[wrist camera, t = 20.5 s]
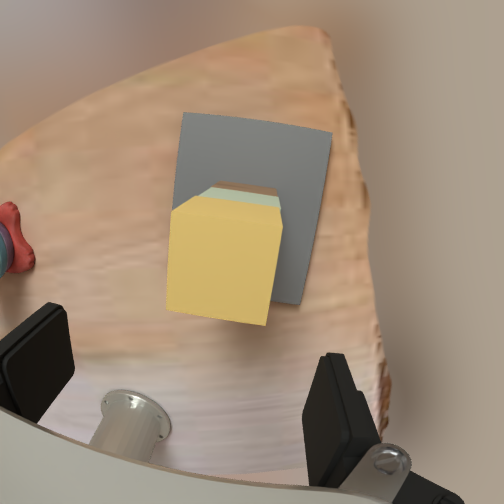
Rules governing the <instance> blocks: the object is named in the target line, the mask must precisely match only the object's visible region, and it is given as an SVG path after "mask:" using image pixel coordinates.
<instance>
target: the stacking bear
mask: <svg viewBox="0 0 504 504" xmlns="http://www.w3.org/2000/svg"><path fill="white" fill-rule="evenodd" d="M34 260H35V256H34V254H33V250H32V248H31V246H30V245H29V244H28V243H27V242H26V241H25V239H24V238H23V235H22V233H21V229H20V214H19V211H18V209H17V206H16V205H15V204H13V203H12V202H6V203H4V204H2V205H1V206H0V278H1V277H2V276H3V275H4V273H5V272H9V273H21V272H24V271H27V270H29V269H30V268H32V267H33V266H34Z"/></svg>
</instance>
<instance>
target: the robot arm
mask: <svg viewBox="0 0 504 504" xmlns="http://www.w3.org/2000/svg"><path fill="white" fill-rule="evenodd" d="M74 371H75V365H74V360H73V354H72V348H71V341H70V334H69V327H68V319H67V313H66V311H65V310H64V308H63V306H61V305H58V304H55V303H51V302H48V303H46V304H45V305H44V306H42V307H41V308H40V309H39V310H37V311H36V312H35V313H34V314H32V315H31V316H30V317H29V318H27V319H26V320H25V321H24V322H22V323H21V324H20V325H19V326H17V327H16V328H15V329H14V330H13V331H11V332H10V333H9V334H8V335H7V336H5V337H4V338H3V339H2V340H1V341H0V504H464V501H463V500H462V499H461V498H460V497H459V496H458V495H456V494H455V493H453V492H451V491H449V490H447V489H445V488H443V487H441V486H439V485H437V484H435V483H433V482H431V481H429V480H427V479H425V478H423V477H421V476H419V475H417V474H416V473H414V472H412V471H410V469H411V466H412V464H411V463H412V462H411V458H410V457H409V454H408V453H407V452H406V451H405V450H404V449H402V448H401V447H399V446H397V445H394V444H390V443H381V441H380V438H379V435H378V432H377V430H376V427H375V424H374V421H373V418H372V415H371V413H370V410H369V407H368V404H367V402H366V399H365V396H364V394H363V392H362V391H357V389H356V386H355V384H354V381H353V378H352V375H351V372H350V370H349V367H348V364H347V361H346V359H345V356H344V354H339V353H327V354H326V356H321V357H320V360H319V363H318V366H317V369H316V373H315V376H314V379H313V382H312V385H311V388H310V391H309V394H308V398H307V401H306V404H305V406H304V409H303V413H302V424H303V433H304V442H305V451H306V460H307V469H308V477H309V486H301V485H286V484H272V483H261V482H251V481H243V480H234V479H227V478H219V477H213V476H207V475H202V474H196V473H191V472H186V471H181V470H176V469H171V468H167V467H163V466H158V465H154V464H150V463H149V460H150V457H151V455H152V452H153V449H154V446H155V443H156V442H160V441H162V440H164V439H165V438H166V437H167V436H168V434H169V431H170V421H169V418H168V416H167V414H166V413H165V412H164V411H163V409H162V408H161V407H160V406H158V405H157V404H156V403H155V402H153V401H152V400H150V399H149V398H147V397H145V396H143V395H141V394H138V393H135V392H132V391H126V390H116V391H112V392H109V393H108V394H106V395H105V397H104V398H103V400H102V402H101V412H102V414H103V416H104V417H103V419H102V421H101V422H100V424H99V426H98V428H97V430H96V432H95V433H94V435H93V437H92V439H91V441H90V443H89V444H85V443H82V442H79V441H77V440H74V439H72V438H69V437H66V436H64V435H61V434H59V433H56V432H54V431H52V430H49V429H47V428H45V427H42V426H40V425H38V424H37V423H38V421H39V420H40V419H41V417H42V416H43V415H44V413H45V412H46V410H47V409H48V408H49V406H50V405H51V404H52V402H53V401H54V400H55V398H56V397H57V396H58V394H59V393H60V392H61V390H62V389H63V388H64V387H65V385H66V384H67V383H68V381H69V380H70V379H71V377H72V376H73V374H74Z"/></svg>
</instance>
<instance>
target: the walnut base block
mask: <svg viewBox="0 0 504 504" xmlns="http://www.w3.org/2000/svg"><path fill="white" fill-rule="evenodd" d="M211 187H214V188H221V189H228V190H236V191H243V192H249V193H256V194H263V195H269V196H276V197H278V195H277V190H276V188H269V187H263V186H256V185H249V184H242V183H235V182H227V181H219V182H217V183H216V184H214V185H212V186H211Z"/></svg>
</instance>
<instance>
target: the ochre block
mask: <svg viewBox="0 0 504 504" xmlns="http://www.w3.org/2000/svg"><path fill="white" fill-rule="evenodd" d="M282 229H283V225H282V219H281V214H280V209H279V207H274V206H267V205H260V204H253V203H246V202H239V201H232V200H225V199H217V198H210V197H202V196H194V197H192V198H191V199H189V200H188V201H186V202H185V203H183V204H182V205H180V206H178V207H177V208H175V209H174V210H172V211H171V223H170V237H169V253H168V272H167V298H166V310H170V311H175V312H181V313H187V314H192V315H198V316H204V317H210V318H216V319H223V320H229V321H236V322H242V323H249V324H256V325H263V326H266V320H267V315H268V310H269V304H270V298H271V293H272V287H273V282H274V276H275V270H276V264H277V259H278V253H279V247H280V241H281V235H282Z"/></svg>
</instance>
